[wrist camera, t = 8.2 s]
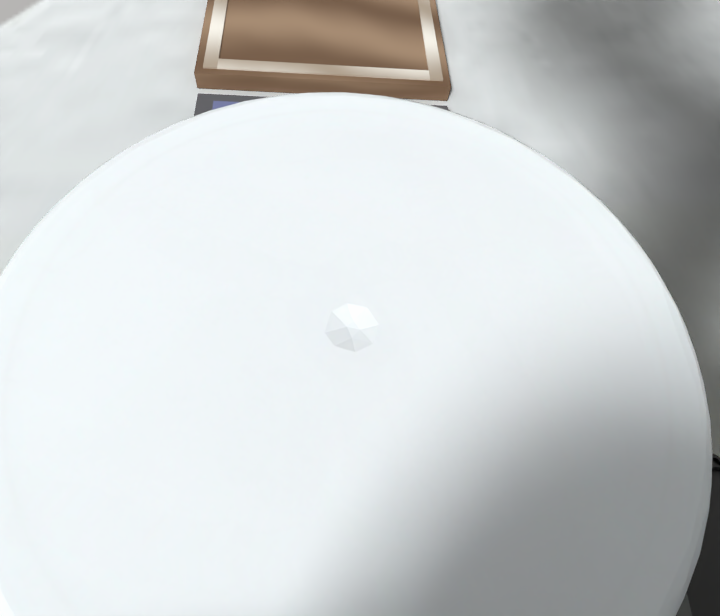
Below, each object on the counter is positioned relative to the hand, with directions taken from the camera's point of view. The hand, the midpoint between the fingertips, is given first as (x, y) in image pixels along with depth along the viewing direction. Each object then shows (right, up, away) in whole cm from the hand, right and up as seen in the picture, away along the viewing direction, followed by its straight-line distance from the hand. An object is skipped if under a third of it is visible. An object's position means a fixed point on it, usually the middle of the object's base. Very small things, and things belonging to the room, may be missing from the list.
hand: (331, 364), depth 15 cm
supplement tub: (0, -6, +4) cm, 7 cm away
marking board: (-2, +21, +18) cm, 28 cm away
